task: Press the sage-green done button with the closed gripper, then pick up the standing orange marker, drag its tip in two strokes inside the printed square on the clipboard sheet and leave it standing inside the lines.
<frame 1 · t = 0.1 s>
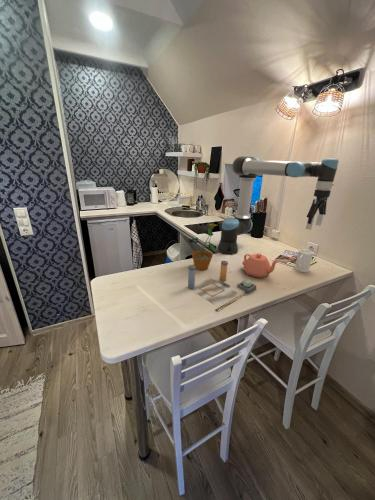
hand: (313, 227, 127), 28 cm above the counter, fingers open, 13 cm apart
button base: (246, 288, 116), on the counter
clipboard: (213, 292, 113), on the counter
done button: (247, 283, 115), point 3 cm above the counter, slide at 0.0 cm
potted plant: (201, 269, 136), on the counter
orange marker: (222, 281, 123), on the counter
mug: (300, 269, 139), on the counter
teapot: (257, 273, 133), on the counter
blue marker: (191, 287, 114), point 1 cm above the counter, touching clipboard
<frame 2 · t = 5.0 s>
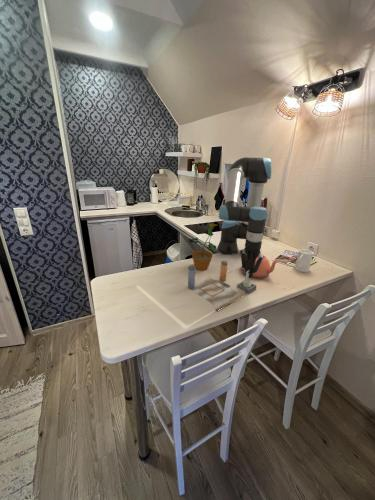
hand: (247, 282, 115), 4 cm above the counter, fingers closed
done button: (246, 285, 115), point 2 cm above the counter, slide at 1.0 cm
everything else where it was.
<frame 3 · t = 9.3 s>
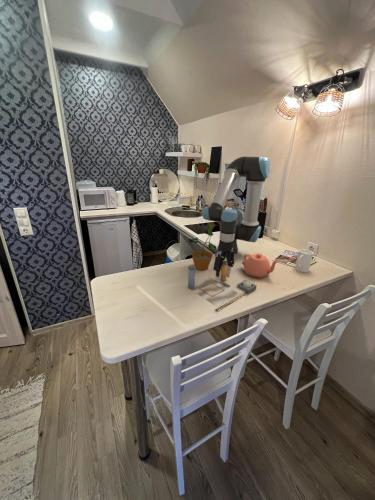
hand: (222, 278, 122), 2 cm above the counter, fingers open, 7 cm apart
nothing on the counter moved.
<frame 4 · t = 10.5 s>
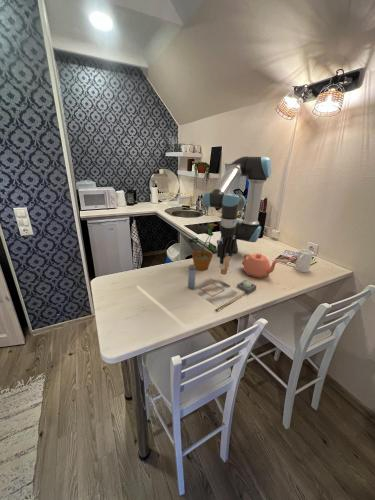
hand: (224, 267, 120), 9 cm above the counter, fingers closed on orange marker, 3 cm apart
orange marker: (223, 273, 121), point 5 cm above the counter, touching gripper
everything else where it was.
when the fingers open (2 cm above the counter, at t = 16.3 s): orange marker stays where it is, resting on clipboard.
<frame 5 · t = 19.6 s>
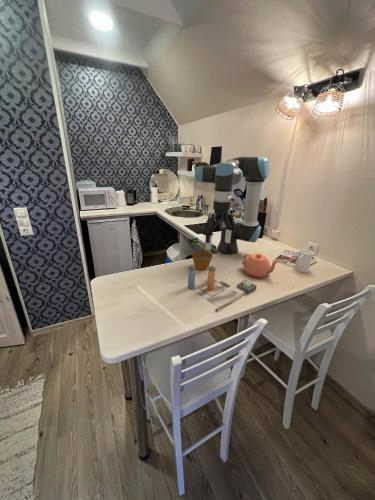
hand: (218, 245, 105), 25 cm above the counter, fingers open, 13 cm apart
orange marker: (210, 288, 114), point 1 cm above the counter, touching clipboard
everything else where it was.
at the end: done button slide at 1.2 cm; orange marker inside the target area (1.0 cm from its centre), point 1.1 cm above the counter; orange marker tilted 0° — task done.
